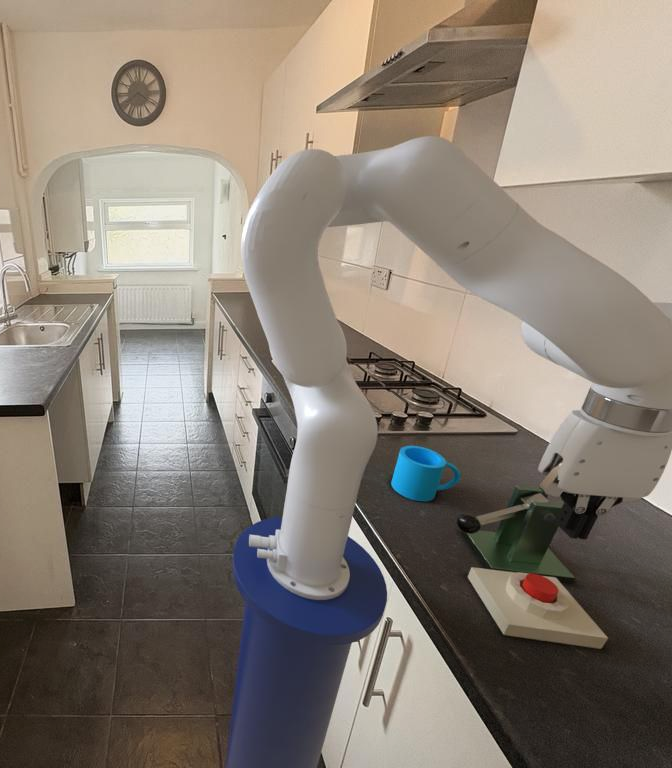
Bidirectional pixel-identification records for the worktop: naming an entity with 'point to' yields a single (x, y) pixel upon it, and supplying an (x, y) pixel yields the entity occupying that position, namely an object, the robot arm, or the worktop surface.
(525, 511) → the lever
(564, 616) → the button block
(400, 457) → the mug
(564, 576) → the bracket
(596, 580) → the worktop surface
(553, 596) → the button
